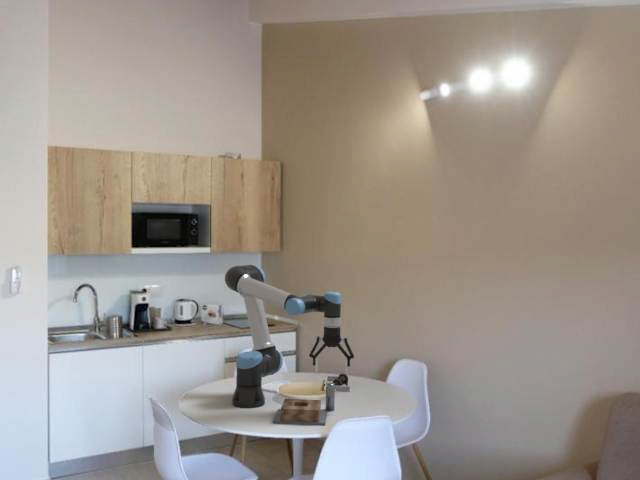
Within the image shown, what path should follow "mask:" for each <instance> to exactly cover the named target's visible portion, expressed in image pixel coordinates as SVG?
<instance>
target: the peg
mask: <svg viewBox="0 0 640 480" xmlns="http://www.w3.org/2000/svg"><path fill="white" fill-rule="evenodd" d="M335 395H336V391H335V383H333V382H327V383H326V391H325V408H324V409H325V410H324V411H327V412H334V411H335V403H336V402H335Z"/></svg>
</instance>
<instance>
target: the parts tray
mask: <svg viewBox="0 0 640 480" xmlns="http://www.w3.org/2000/svg"><path fill="white" fill-rule="evenodd" d="M338 377H339V375H325V379H324V384H326V383H328V382H333V381H334V380H335V379H337V378H338ZM347 377H348V381H347V385H341V386H335V389H336V391H335V392H351V391H350V390H351V389H350V387H351V376H349V375H347ZM324 384H323V385H324Z"/></svg>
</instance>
